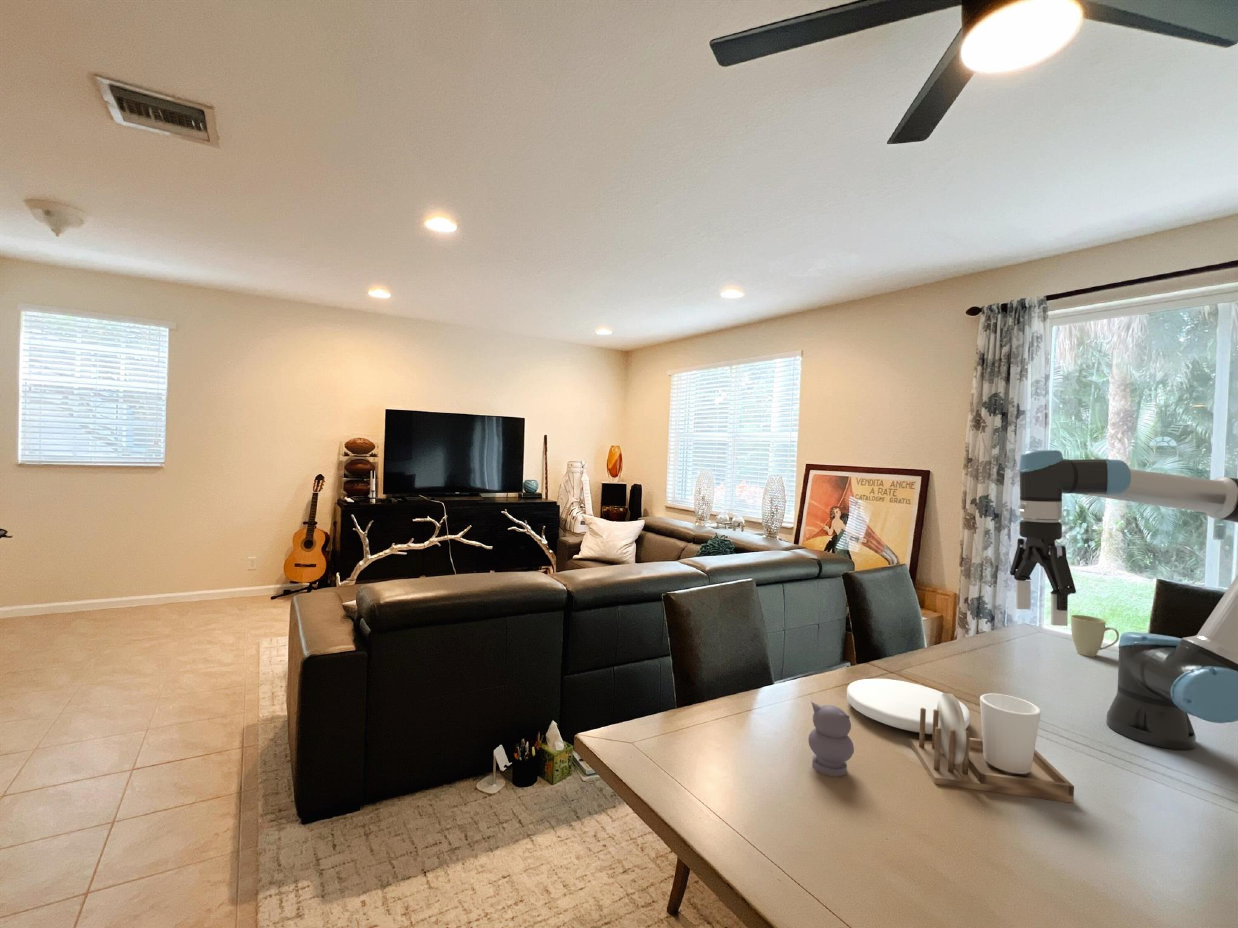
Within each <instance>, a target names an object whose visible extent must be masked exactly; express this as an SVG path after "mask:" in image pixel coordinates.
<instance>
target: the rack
mask: <svg viewBox="0 0 1238 928" xmlns="http://www.w3.org/2000/svg"><path fill="white" fill-rule="evenodd" d="M942 693H943V694H942V695H941V696H940V698H939V701H938V705H937V710H936V709H934V710H933V734H931V735H932V737H931V738H932V740H925V739H926V734H925V720H926V709H925V708H921V709H920V733H919V732H918V733H919V735H918V736H919V737H918V738H919V739H914V738H910V739H909V745H910V747H911V748H912V750H913V752H914V753H915V755H916V756H917V758H918V759H919V761H920V762H921V764H922V765H923V767H924V769H925V771H926V772H927V774H928V775H929V777H930V778H931V780H932V782H933V783H934V784H935V785H942V786H948V787H956V788H963V789H969V790H976V791H977V790H978V791H984V792H985V791H986V792H990V793H991V792H992V793H1000V794H1007V795H1013V796H1022V797H1028V798H1035V799H1042V800H1050V801H1057V802H1064V803H1065V802H1066V803H1074V801H1075V800H1074V797H1075V786H1074V785H1073V784H1072V783H1071V782H1070V781H1069V780H1068V779H1067V778H1066V777H1065V776H1064V775H1063V774H1062V773H1061V772H1060V771H1059V770H1058V769H1056V768H1055V767H1054V766H1053V765H1052V764H1051V763H1050V762H1049V761H1048V760H1047V759H1046V758H1045V757H1044V756H1043V755H1042V754H1041V753H1039V752H1038V751H1037V750H1036V749H1035V750H1034V756H1033V762H1032V768H1031V771H1030V773H1029V775H1028V776H1027V777H1024V776H1021V775H1019V774H1013V775H1012V776H1008V775H1006V774H1004V773H1003V772H1002V771H1001V770H999V769H998V768H991V767H989V766H988V765H987V763H986V761H985V758H984V752H983V738H982V739H981V738H974V737H973V738H972V737H971V734H970V732H971V731H968V730H967V728H966V727H965V721H964V716H963V712H962V709H961V706H960V704H959V702H958V701H959V700H958V699H957V697H956V696H955V695H954V694H952V693H949V692H947V693H946V692H942Z"/></svg>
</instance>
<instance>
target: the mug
mask: <svg viewBox="0 0 1238 928" xmlns="http://www.w3.org/2000/svg"><path fill="white" fill-rule="evenodd" d="M1106 622H1107V621H1106V620H1104V619H1102V618H1099V617H1095V616H1090V615H1084V614H1071V615H1070V623H1071V624H1070V625H1071V627H1070V628H1071V629H1070V630H1071V638H1072V640H1073V645H1074V647H1075V650H1076V652H1077V653H1076V654H1078V655H1081V656H1083V657H1084V656H1085V657H1089V656H1090V657H1091V658H1095V656H1096V657H1097V654H1098V653H1099V651H1102V650H1104V649H1105V650H1106V649H1108V648H1110V647H1112V646H1114V645H1116V643H1117V642H1118V641H1119V640H1120V633H1119V631H1118V630H1117V629H1116V628H1115V627H1106ZM1110 630H1112V631H1114V632H1115V634H1116V639H1115V640H1114V641H1113V642H1112V643H1110V644H1108V645H1106V646H1104V647H1102V644H1103V641H1104V637H1105V633H1106V632H1108V631H1110Z"/></svg>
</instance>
